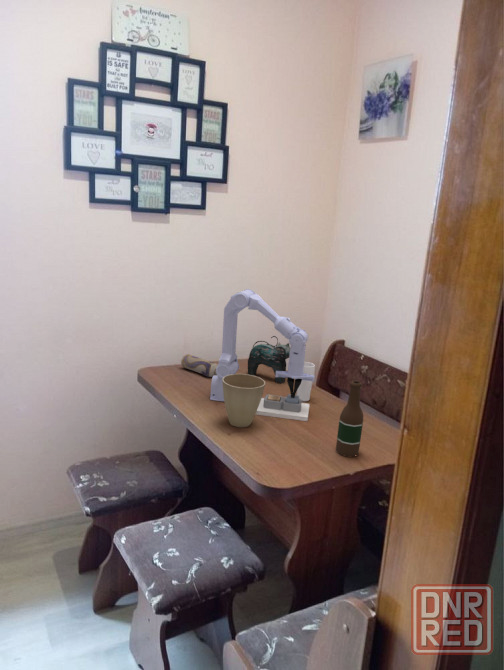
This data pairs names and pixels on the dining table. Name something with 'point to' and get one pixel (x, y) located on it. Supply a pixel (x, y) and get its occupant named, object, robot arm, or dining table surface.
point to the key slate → (292, 399)
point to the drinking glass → (306, 382)
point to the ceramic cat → (269, 358)
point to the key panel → (283, 409)
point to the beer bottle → (350, 423)
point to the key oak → (274, 398)
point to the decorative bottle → (199, 365)
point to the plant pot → (242, 397)
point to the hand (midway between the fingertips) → (292, 397)
